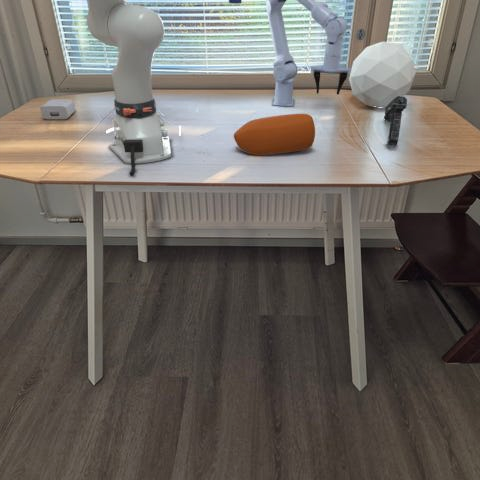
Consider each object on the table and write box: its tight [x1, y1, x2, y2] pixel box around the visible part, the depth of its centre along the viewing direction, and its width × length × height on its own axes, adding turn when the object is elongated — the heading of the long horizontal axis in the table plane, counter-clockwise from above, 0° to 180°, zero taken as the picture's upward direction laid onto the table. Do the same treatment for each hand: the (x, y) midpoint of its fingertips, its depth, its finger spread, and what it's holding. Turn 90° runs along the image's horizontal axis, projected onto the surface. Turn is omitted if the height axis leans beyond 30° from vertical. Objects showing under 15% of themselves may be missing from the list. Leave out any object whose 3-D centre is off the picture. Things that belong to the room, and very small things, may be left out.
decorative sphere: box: [348, 41, 417, 110], centre depth 160 cm, size 24×25×25 cm
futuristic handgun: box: [383, 96, 408, 147], centre depth 138 cm, size 4×29×15 cm, turn 164°
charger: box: [39, 98, 76, 120], centre depth 153 cm, size 5×9×15 cm
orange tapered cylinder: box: [233, 113, 316, 156], centre depth 124 cm, size 12×11×25 cm
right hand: (327, 93), depth 156 cm, fingers open, 7 cm apart
